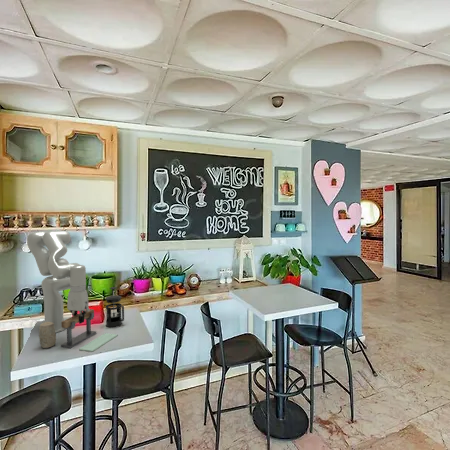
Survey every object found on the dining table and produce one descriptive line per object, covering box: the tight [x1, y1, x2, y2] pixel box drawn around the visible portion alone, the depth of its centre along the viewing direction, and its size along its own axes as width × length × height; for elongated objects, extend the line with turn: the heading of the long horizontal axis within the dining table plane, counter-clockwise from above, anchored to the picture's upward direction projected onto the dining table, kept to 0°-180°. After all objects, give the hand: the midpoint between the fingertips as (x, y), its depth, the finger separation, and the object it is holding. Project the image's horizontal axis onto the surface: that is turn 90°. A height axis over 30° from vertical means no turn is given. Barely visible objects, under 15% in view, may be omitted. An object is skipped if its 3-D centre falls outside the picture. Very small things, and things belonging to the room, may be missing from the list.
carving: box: [38, 322, 57, 349], centre depth 150 cm, size 6×8×12 cm
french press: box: [105, 286, 125, 329], centre depth 178 cm, size 12×9×23 cm
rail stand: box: [60, 312, 97, 349], centre depth 157 cm, size 6×19×12 cm, turn 165°
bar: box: [61, 308, 95, 328], centre depth 157 cm, size 3×20×3 cm, turn 165°
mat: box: [78, 332, 119, 353], centre depth 154 cm, size 8×20×1 cm, turn 165°
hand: (78, 322), depth 157 cm, fingers closed on bar, 3 cm apart
